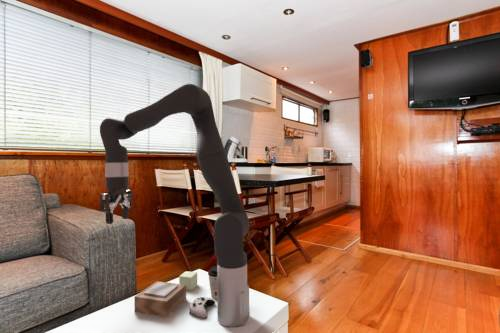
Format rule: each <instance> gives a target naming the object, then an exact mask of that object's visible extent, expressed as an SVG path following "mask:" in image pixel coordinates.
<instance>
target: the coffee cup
mask: <svg viewBox="0 0 500 333" xmlns="http://www.w3.org/2000/svg"><path fill="white" fill-rule="evenodd" d="M207 274H208V282H209V288H210V289H209V290H210V295H211V297H210V298H212V299H214V300H217V265H216V266H212V267H211V268H210V269H209V270H208V272H207Z"/></svg>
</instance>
